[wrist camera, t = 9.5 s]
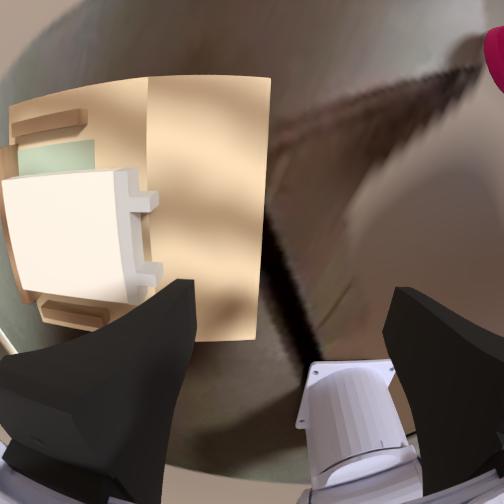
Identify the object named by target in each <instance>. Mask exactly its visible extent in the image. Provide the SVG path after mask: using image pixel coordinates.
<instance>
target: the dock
mask: <svg viewBox="0 0 504 504" xmlns="http://www.w3.org/2000/svg"><path fill="white" fill-rule="evenodd" d="M270 87H271V78H262V77H248V76H226V75H178V76H157V77H144V78H135V79H127V80H120V81H113V82H107V83H101V84H95V85H90V86H85V87H80V88H75V89H70V90H66V91H62V92H58V93H53V94H49V95H46V96H42V97H38V98H35V99H31V100H28V101H24V102H21V103H18V104H15V105H12V106H9V146H5V147H0V214H1V220H2V225H3V231H4V236H5V240H6V245H7V250H8V254H9V258H10V262H11V266H12V270H13V274H14V277H15V281H16V284H17V288H18V291H19V294H20V297H21V300H22V303H24V304H29V305H31V304H32V303H33V302H34V301H35V300H36V302H37V305H38V308H39V311H40V314H41V317H42V320H43V322H47V323H52V324H56V325H61V326H66V327H71V328H76V329H81V330H86V331H92V332H93V331H95V330H97V329H99V328H101V327H103V326H105V325H107V324H109V323H111V322H113V321H115V320H117V319H118V318H120V317H122V316H123V315H125V314H127V313H128V312H130V311H131V310H133V309H134V308H136V307H137V306H138V305H129V304H128V303H118V302H110V301H101V300H93V299H85V298H78V297H70V296H63V295H56V294H50V293H43V292H37V291H31V290H25V289H23V288H22V284H21V281H20V277H19V273H18V270H17V266H16V262H15V258H14V253H13V249H12V244H11V240H10V235H9V229H8V224H7V218H6V212H5V205H4V198H3V190H2V180H5V179H8V178H11V177H16V176H22V175H33V174H42V173H52V172H63V171H76V170H90V169H107V168H124V167H138V173H139V191H159V205H158V206H157V207H156V208H155V209H154V210H153V211H151V212H140V215H141V229H142V241H143V252H144V262H161V263H163V271H164V275H163V277H162V278H161V280H160V282H159V284H158V285H157V287H149V286H147V288H148V293H147V295H146V297H145V299H144V300H143V302H142V303H144V302H145V301H146V300H148V299H149V298H150V297H152V296H153V295H155V294H156V293H157V292H159V291H160V290H161V289H163V288H164V287H166V286H167V285H168V284H170V283H171V282H172V281H174V280H176V279H177V278H178V279H194V283H195V300H196V316H197V332H196V338H195V342H204V341H233V340H252V339H255V336H256V322H257V307H258V292H259V277H260V261H261V245H262V229H263V213H264V196H265V179H266V161H267V143H268V125H269V106H270Z"/></svg>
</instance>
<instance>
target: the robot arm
mask: <svg viewBox="0 0 504 504" xmlns="http://www.w3.org/2000/svg"><path fill="white" fill-rule="evenodd" d="M196 332H197V316H196V300H195V283H194V279H178V278H177V279H176V280H174V281H172V282H171V283H170V284H168V285H167V286H166V287H164V288H163V289H161V290H160V291H159V292H157V293H156V294H155V295H153V296H152V297H150V298H149V299H148V300H146V301H145V302H144V303H142V304H140V305H139V306H137V307H136V308H134V309H133V310H131V311H130V312H128V313H127V314H125V315H123V316H122V317H120V318H118V319H117V320H115V321H113V322H111V323H109V324H107V325H105V326H103V327H101V328H99V329H97V330H95V331H93V332H90V333H88V334H85V335H83V336H80V337H78V338H75V339H73V340H70V341H67V342H64V343H61V344H58V345H55V346H51V347H47V348H44V349H40V350H35V351H30V352H25V353H19V354H13V355H6V356H4V357H3V358H2V360H1V361H0V424H1V426H2V427H3V428H4V429H5V431H6V432H7V433H8V435H9V436H10V437H11V438H12V440H11V441H10V443H9V445H8V446H7V445H6V444H5V443H3V442H2V441H1V440H0V504H161V495H162V483H163V474H164V467H165V459H166V452H167V446H168V440H169V434H170V428H171V423H172V418H173V413H174V408H175V405H176V401H177V398H178V395H179V392H180V389H181V386H182V383H183V380H184V377H185V374H186V371H187V368H188V365H189V362H190V359H191V356H192V352H193V348H194V343H195V338H196ZM382 333H383V337H384V341H385V345H386V348H387V351H388V355H389V357H390V359H379V360H360V361H317V362H313V363H312V364H311V365H310V368H309V372H308V376H307V380H306V384H305V389H304V393H303V397H302V400H301V404H300V408H299V412H298V416H297V419H296V423H295V426H296V428H298V429H306V438H307V448H308V457H309V467H310V474H311V483H312V488H310V489H306V490H304V491H303V493H302V495H301V497H300V498H299V499H298V501H297V504H504V337H501V336H499V335H496V334H494V333H492V332H490V331H488V330H486V329H483V328H481V327H479V326H477V325H476V324H474V323H472V322H470V321H469V320H467V319H465V318H463V317H461V316H459V315H458V314H456V313H455V312H453V311H451V310H450V309H448V308H446V307H445V306H443V305H441V304H440V303H438V302H437V301H435V300H433V299H432V298H430V297H428V296H426V295H425V294H423V293H421V292H419V291H417V290H415V289H413V288H411V287H395V291H394V294H393V298H392V301H391V305H390V308H389V312H388V315H387V318H386V321H385V325H384V328H383V331H382ZM314 371H316V372H314ZM395 371H396V373H397V375H398V378H399V380H400V383H401V385H402V387H403V389H404V392H405V394H406V397H407V399H408V402H409V405H410V408H411V412H412V415H413V420H414V424H415V428H416V433H417V438H418V443H419V449H420V454H418V455H416V453H415V450H414V447H413V445H408V442H407V439H406V436H405V433H404V431H403V428H402V425H401V422H400V420H399V417H398V414H397V412H396V409H395V406H394V404H393V401H392V398H391V396H390V393H389V391H388V386H389V384H390V382H391V380H392V377H393V375H394V373H395Z"/></svg>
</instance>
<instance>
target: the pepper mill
mask: <svg viewBox="0 0 504 504" xmlns="http://www.w3.org/2000/svg"><path fill="white" fill-rule="evenodd" d="M484 53H485V59H486V63H487V66H488V69H489V72H490V74H491V76H492V78H493V80H494V82H495V83H496V85H497V86H498V87H499V89H500V90H501V91H502V92H503V93H504V26H501V27H496V28H493V29H491V30H490V31H488V33H487V35H486V37H485V41H484Z"/></svg>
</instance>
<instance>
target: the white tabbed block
mask: <svg viewBox="0 0 504 504" xmlns="http://www.w3.org/2000/svg"><path fill="white" fill-rule="evenodd" d="M2 190H3V198H4V205H5V212H6V218H7V224H8V229H9V235H10V240H11V244H12V249H13V253H14V258H15V262H16V266H17V270H18V273H19V277H20V281H21V284H22V288H23V289H25V290H31V291H37V292H43V293H50V294H56V295H63V296H70V297H78V298H85V299H93V300H101V301H110V302H118V303H128V304H129V305H138V306H139V305H140V304H142V302H143V300H144V299H145V297H146V295H147V293H148V288H147V286H149V287H157V285H158V284H159V282H160V280H161V278H162V277H163V275H164V271H163V263H161V262H144V252H143V241H142V229H141V215H140V212H151V211H153V210H154V209H155V208H156V207H157V206H158V205H159V191H139V173H138V167H124V168H107V169H90V170H76V171H63V172H52V173H42V174H33V175H22V176H16V177H11V178H8V179H5V180H2Z"/></svg>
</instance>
